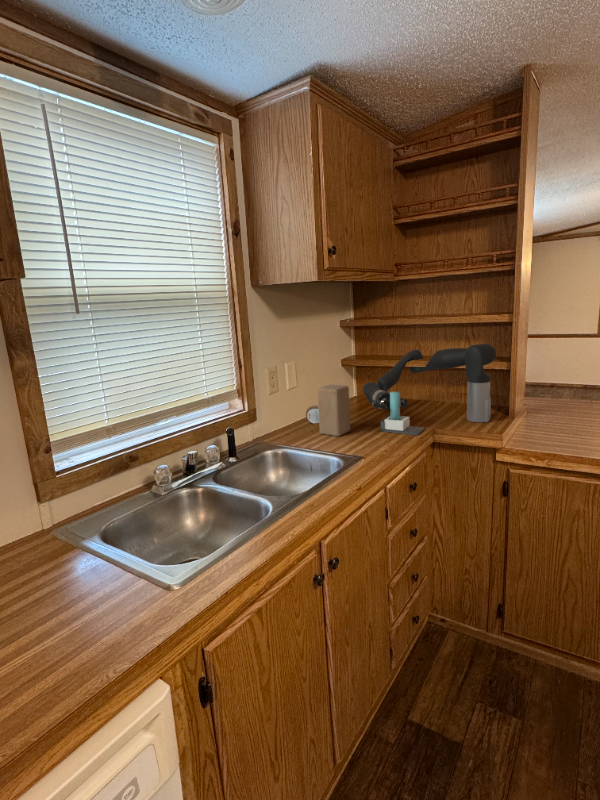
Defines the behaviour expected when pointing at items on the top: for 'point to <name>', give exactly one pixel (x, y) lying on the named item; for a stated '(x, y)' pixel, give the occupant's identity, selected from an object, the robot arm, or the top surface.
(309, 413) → the tin
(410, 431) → the grey tray
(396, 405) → the dowel
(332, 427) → the wooden block
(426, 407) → the top surface
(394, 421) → the socket block
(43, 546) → the top surface
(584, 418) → the top surface
